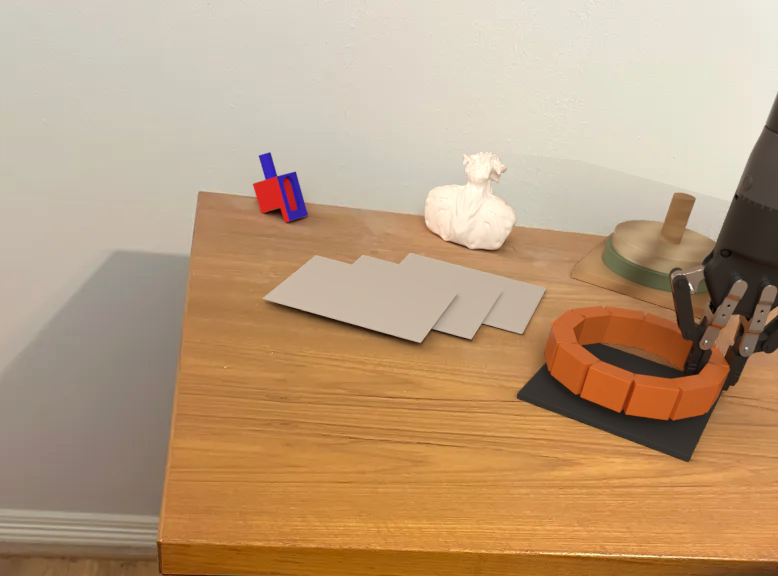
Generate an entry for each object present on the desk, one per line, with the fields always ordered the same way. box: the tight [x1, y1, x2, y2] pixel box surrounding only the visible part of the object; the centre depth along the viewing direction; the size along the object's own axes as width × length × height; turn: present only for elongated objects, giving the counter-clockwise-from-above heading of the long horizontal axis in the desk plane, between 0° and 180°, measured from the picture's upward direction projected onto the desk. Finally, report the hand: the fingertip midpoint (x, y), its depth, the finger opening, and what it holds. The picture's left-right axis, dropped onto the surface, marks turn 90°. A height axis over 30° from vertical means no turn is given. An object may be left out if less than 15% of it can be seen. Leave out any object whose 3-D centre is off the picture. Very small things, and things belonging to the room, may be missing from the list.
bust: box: [423, 151, 518, 251], centre depth 106 cm, size 12×8×11 cm
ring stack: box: [570, 192, 717, 320], centre depth 104 cm, size 17×17×10 cm
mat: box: [516, 343, 724, 463], centre depth 81 cm, size 16×16×1 cm
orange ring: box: [543, 305, 730, 420], centre depth 80 cm, size 16×16×3 cm
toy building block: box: [252, 152, 309, 223], centre depth 105 cm, size 4×4×8 cm
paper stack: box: [261, 252, 547, 344], centre depth 92 cm, size 23×25×1 cm
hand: (705, 383), depth 80 cm, fingers closed on orange ring, 2 cm apart
